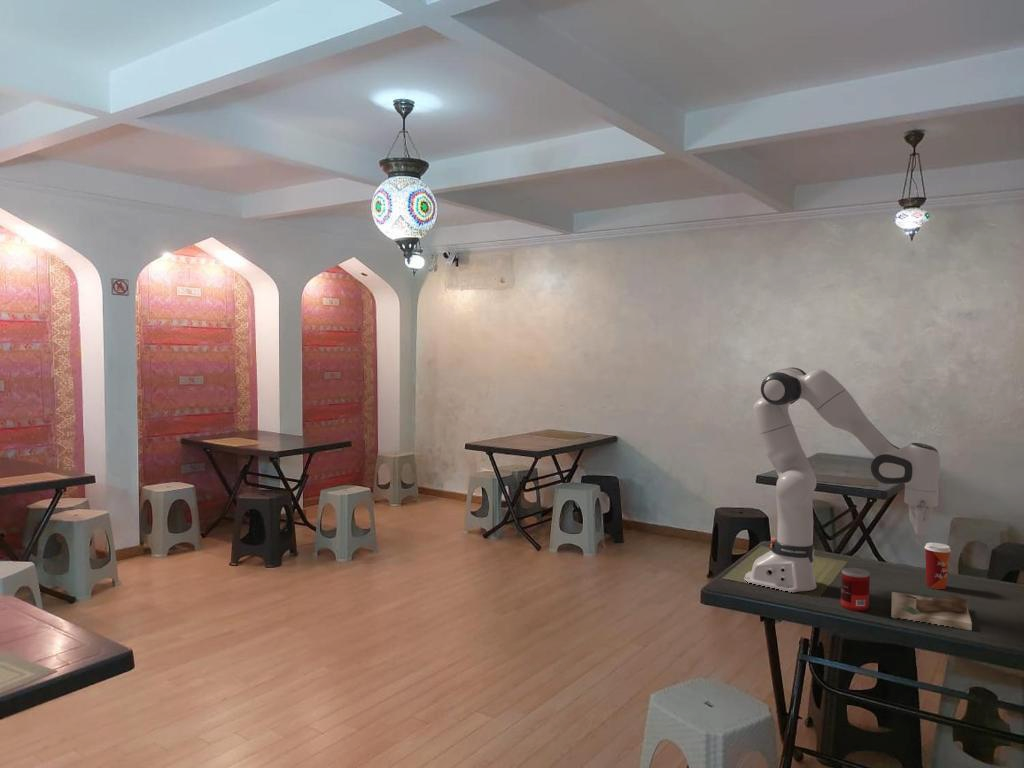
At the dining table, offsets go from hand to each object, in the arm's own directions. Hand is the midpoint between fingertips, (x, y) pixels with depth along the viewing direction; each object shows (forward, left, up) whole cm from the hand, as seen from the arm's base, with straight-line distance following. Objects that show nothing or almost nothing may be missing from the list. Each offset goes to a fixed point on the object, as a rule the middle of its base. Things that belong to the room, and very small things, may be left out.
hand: (918, 544), depth 220 cm
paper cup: (+7, +29, -21) cm, 36 cm away
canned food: (-16, -5, -21) cm, 27 cm away
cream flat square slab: (+4, 0, -20) cm, 21 cm away
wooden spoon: (+7, -2, -18) cm, 19 cm away
